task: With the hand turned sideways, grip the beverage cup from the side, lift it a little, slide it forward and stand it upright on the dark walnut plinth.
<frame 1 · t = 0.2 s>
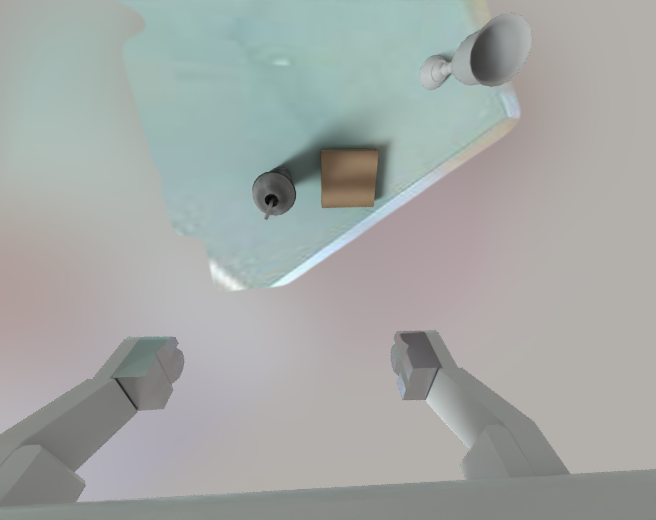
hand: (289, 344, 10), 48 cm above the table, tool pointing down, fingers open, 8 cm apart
chalice: (433, 73, 45), on the table
walnut plinth: (347, 177, 53), on the table
beverage cup: (280, 178, 52), on the table
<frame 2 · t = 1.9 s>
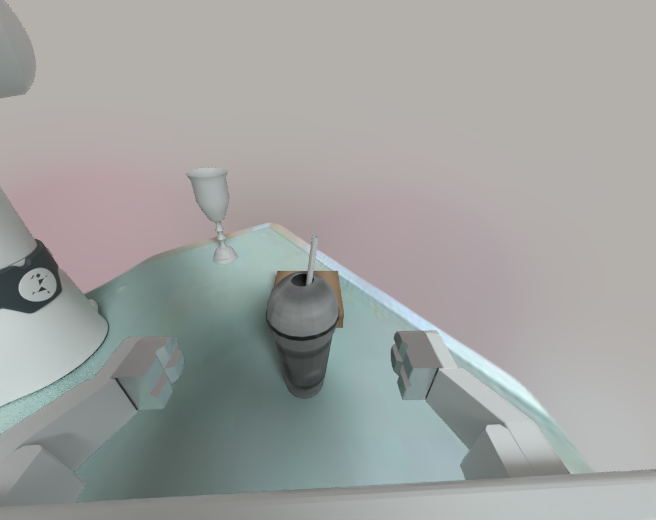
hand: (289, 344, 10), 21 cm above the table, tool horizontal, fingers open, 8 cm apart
chalice: (225, 258, 55), on the table
walnut plinth: (307, 303, 43), on the table
beverage cup: (305, 381, 31), on the table
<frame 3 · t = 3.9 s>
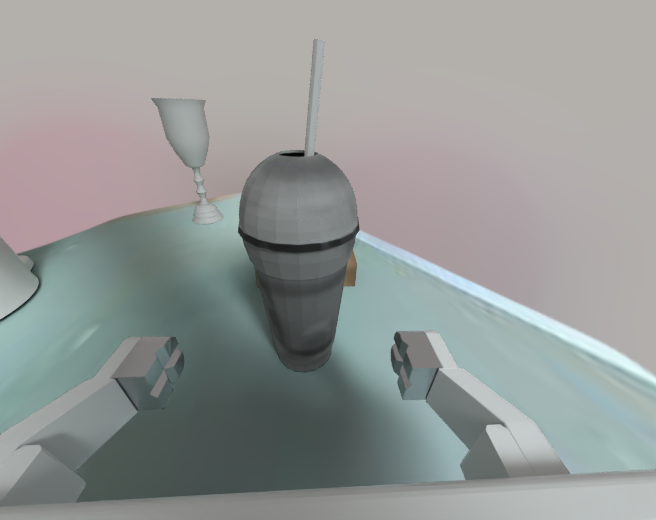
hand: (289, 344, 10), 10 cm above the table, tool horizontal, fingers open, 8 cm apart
chalice: (208, 219, 45), on the table
walnut plinth: (307, 261, 33), on the table
beverage cup: (305, 349, 21), on the table
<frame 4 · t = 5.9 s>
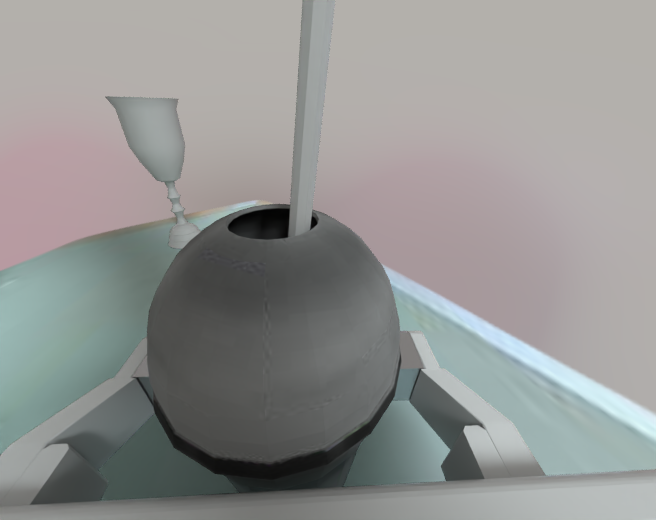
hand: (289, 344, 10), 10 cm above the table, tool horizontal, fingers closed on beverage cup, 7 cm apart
chalice: (187, 241, 38), on the table
beverage cup: (298, 479, 14), on the table, touching gripper
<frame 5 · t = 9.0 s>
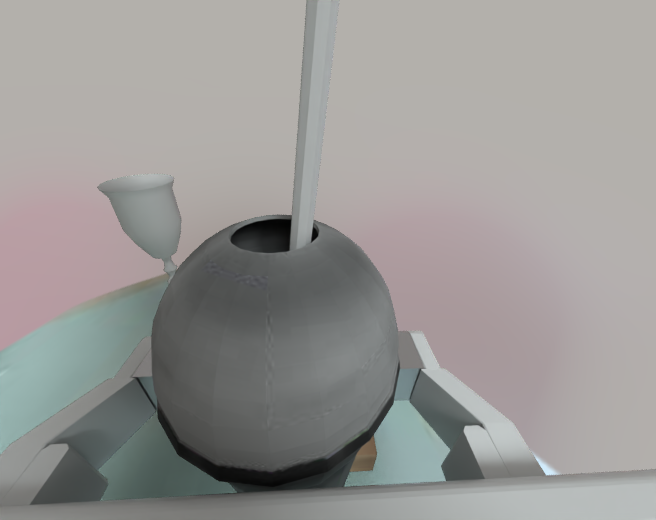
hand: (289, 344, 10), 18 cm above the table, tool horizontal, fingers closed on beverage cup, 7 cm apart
chalice: (185, 307, 37), on the table
walnut plinth: (306, 405, 25), on the table
beverage cup: (298, 481, 14), point 7 cm above the table, touching gripper
when the fingers open (14 cm above the table, at t = 12.0 s): beverage cup drops 1 cm, resting on walnut plinth.
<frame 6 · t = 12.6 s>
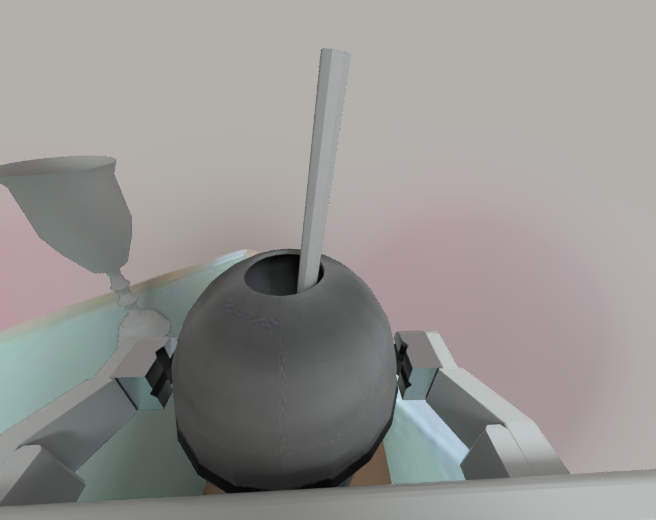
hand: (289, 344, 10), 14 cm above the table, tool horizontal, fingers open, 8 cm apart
chalice: (145, 334, 28), on the table
walnut plinth: (301, 504, 16), on the table
beverage cup: (301, 488, 15), point 3 cm above the table, touching walnut plinth
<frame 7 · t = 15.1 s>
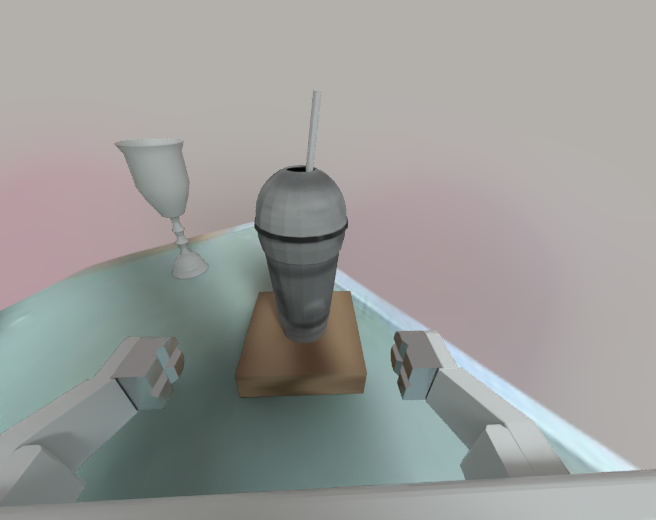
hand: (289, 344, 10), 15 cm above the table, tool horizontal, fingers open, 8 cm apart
chalice: (191, 270, 39), on the table
walnut plinth: (304, 345, 27), on the table
beverage cup: (304, 327, 26), point 3 cm above the table, touching walnut plinth
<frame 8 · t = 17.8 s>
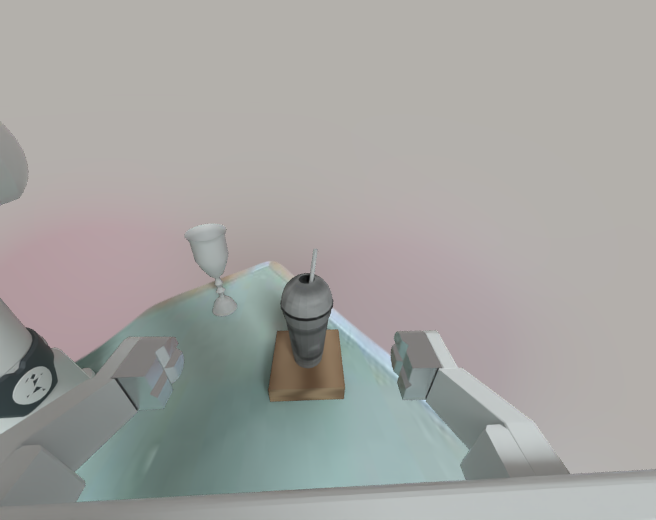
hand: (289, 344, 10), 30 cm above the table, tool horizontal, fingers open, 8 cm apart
chalice: (225, 308, 54), on the table
walnut plinth: (307, 367, 42), on the table
beverage cup: (308, 356, 41), point 3 cm above the table, touching walnut plinth
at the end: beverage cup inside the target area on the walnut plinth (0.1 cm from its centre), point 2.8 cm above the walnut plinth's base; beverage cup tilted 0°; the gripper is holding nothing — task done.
